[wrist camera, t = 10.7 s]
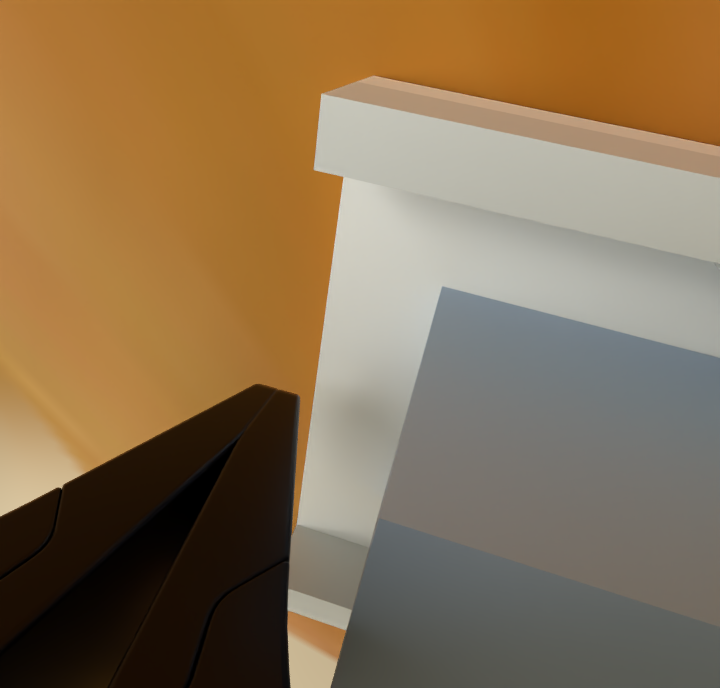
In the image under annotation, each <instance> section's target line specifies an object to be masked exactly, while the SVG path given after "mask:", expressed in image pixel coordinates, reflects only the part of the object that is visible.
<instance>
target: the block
mask: <svg viewBox="0 0 720 688" xmlns="http://www.w3.org/2000/svg"><path fill="white" fill-rule="evenodd" d="M331 688H720V358H718V357H714V356H710V355H706V354H702V353H699V352H695V351H691V350H687V349H683V348H679V347H675V346H672V345H668V344H664V343H660V342H656V341H652V340H648V339H644V338H641V337H637V336H633V335H629V334H625V333H621V332H617V331H614V330H610V329H606V328H602V327H598V326H594V325H590V324H586V323H583V322H579V321H575V320H571V319H567V318H563V317H559V316H556V315H552V314H548V313H544V312H540V311H536V310H532V309H528V308H525V307H521V306H517V305H513V304H509V303H505V302H501V301H498V300H494V299H490V298H486V297H482V296H478V295H474V294H470V293H467V292H463V291H459V290H455V289H451V288H447V287H443V286H442V288H441V292H440V295H439V299H438V303H437V306H436V310H435V313H434V317H433V320H432V324H431V328H430V331H429V335H428V338H427V342H426V345H425V349H424V353H423V356H422V360H421V363H420V367H419V370H418V374H417V378H416V381H415V385H414V388H413V392H412V395H411V399H410V403H409V406H408V410H407V413H406V417H405V420H404V424H403V428H402V431H401V435H400V438H399V442H398V445H397V449H396V453H395V456H394V460H393V463H392V467H391V471H390V474H389V478H388V481H387V485H386V488H385V492H384V496H383V499H382V503H381V506H380V510H379V514H378V517H377V521H376V524H375V528H374V532H373V535H372V539H371V543H370V546H369V550H368V553H367V557H366V561H365V564H364V568H363V572H362V575H361V579H360V583H359V586H358V590H357V593H356V597H355V601H354V604H353V608H352V612H351V615H350V619H349V622H348V626H347V630H346V633H345V637H344V641H343V644H342V648H341V651H340V655H339V659H338V662H337V666H336V670H335V673H334V677H333V681H332V684H331Z"/></svg>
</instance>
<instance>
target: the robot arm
mask: <svg viewBox="0 0 720 688" xmlns="http://www.w3.org/2000/svg"><path fill="white" fill-rule="evenodd" d="M299 409H300V397H299V395H297V394H294V393H290V392H287V391H283V390H278V389H276V388H273V387H269V386H266V385H262V384H255V385H253V386H251V387H249V388H247V389H245V390H243V391H241V392H239V393H237V394H236V395H234V396H232V397H230V398H228V399H226V400H224V401H222V402H220V403H218V404H216V405H215V406H213V407H211V408H209V409H207V410H205V411H203V412H201V413H199V414H197V415H195V416H193V417H192V418H190V419H188V420H186V421H184V422H182V423H180V424H178V425H176V426H174V427H172V428H171V429H169V430H167V431H165V432H163V433H161V434H159V435H157V436H155V437H153V438H151V439H150V440H148V441H146V442H144V443H142V444H140V445H138V446H136V447H134V448H132V449H130V450H129V451H127V452H125V453H123V454H121V455H119V456H117V457H115V458H113V459H111V460H109V461H107V462H106V463H104V464H102V465H100V466H98V467H96V468H94V469H92V470H90V471H88V472H86V473H85V474H83V475H81V476H79V477H77V478H75V479H73V480H71V481H69V482H67V483H65V484H64V485H63V487H62V489H61V488H56V489H54V490H52V491H50V492H48V493H46V494H44V495H42V496H40V497H38V498H36V499H34V500H33V501H31V502H29V503H27V504H25V505H23V506H21V507H19V508H17V509H15V510H13V511H10V512H9V513H7V514H4V515H2V516H0V688H290V675H289V654H288V633H287V620H288V586H289V570H290V564H289V562H290V550H291V534H292V519H293V503H294V487H295V472H296V456H297V440H298V425H299Z"/></svg>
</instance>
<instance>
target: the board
mask: <svg viewBox="0 0 720 688" xmlns="http://www.w3.org/2000/svg"><path fill="white" fill-rule="evenodd" d="M314 170H316V171H321V172H325V173H329V174H334V175H338V176H342V177H344V179H343V186H342V194H341V201H340V208H339V216H338V223H337V230H336V238H335V245H334V253H333V260H332V267H331V275H330V282H329V290H328V297H327V304H326V312H325V319H324V327H323V334H322V341H321V349H320V356H319V364H318V371H317V378H316V386H315V393H314V400H313V408H312V415H311V423H310V430H309V437H308V445H307V452H306V460H305V467H304V474H303V482H302V489H301V497H300V504H299V511H298V519H297V525H296V527H295V530H294V532H293V534H292V537H291V550H290V562H289V564H290V570H289V586H288V611H291V612H294V613H297V614H300V615H303V616H306V617H309V618H312V619H314V620H317V621H320V622H323V623H326V624H329V625H332V626H335V627H338V628H341V629H344V630H347V626H348V622H349V619H350V615H351V612H352V608H353V604H354V601H355V597H356V593H357V590H358V586H359V583H360V579H361V575H362V572H363V568H364V564H365V561H366V557H367V553H368V550H369V546H370V543H371V539H372V535H373V532H374V528H375V524H376V521H377V517H378V514H379V510H380V506H381V503H382V499H383V496H384V492H385V488H386V485H387V481H388V478H389V474H390V471H391V467H392V463H393V460H394V456H395V453H396V449H397V445H398V442H399V438H400V435H401V431H402V428H403V424H404V420H405V417H406V413H407V410H408V406H409V403H410V399H411V395H412V392H413V388H414V385H415V381H416V378H417V374H418V370H419V367H420V363H421V360H422V356H423V353H424V349H425V345H426V342H427V338H428V335H429V331H430V328H431V324H432V320H433V317H434V313H435V310H436V306H437V303H438V299H439V295H440V292H441V288H442V286H443V287H447V288H451V289H455V290H459V291H463V292H467V293H470V294H474V295H478V296H482V297H486V298H490V299H494V300H498V301H501V302H505V303H509V304H513V305H517V306H521V307H525V308H528V309H532V310H536V311H540V312H544V313H548V314H552V315H556V316H559V317H563V318H567V319H571V320H575V321H579V322H583V323H586V324H590V325H594V326H598V327H602V328H606V329H610V330H614V331H617V332H621V333H625V334H629V335H633V336H637V337H641V338H644V339H648V340H652V341H656V342H660V343H664V344H668V345H672V346H675V347H679V348H683V349H687V350H691V351H695V352H699V353H702V354H706V355H710V356H714V357H718V358H720V146H715V145H710V144H705V143H701V142H696V141H691V140H686V139H681V138H676V137H671V136H666V135H661V134H656V133H652V132H647V131H642V130H637V129H632V128H627V127H622V126H617V125H612V124H607V123H603V122H598V121H593V120H588V119H583V118H578V117H573V116H568V115H563V114H559V113H554V112H549V111H544V110H539V109H534V108H529V107H524V106H519V105H514V104H510V103H505V102H500V101H495V100H490V99H485V98H480V97H475V96H470V95H465V94H461V93H456V92H451V91H446V90H441V89H436V88H431V87H426V86H421V85H417V84H412V83H407V82H402V81H397V80H392V79H387V78H382V77H377V76H371V77H369V78H366V79H363V80H360V81H357V82H354V83H351V84H349V85H346V86H343V87H340V88H337V89H334V90H331V91H329V92H326V93H323V94H322V95H321V105H320V114H319V124H318V134H317V144H316V153H315V163H314Z"/></svg>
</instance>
